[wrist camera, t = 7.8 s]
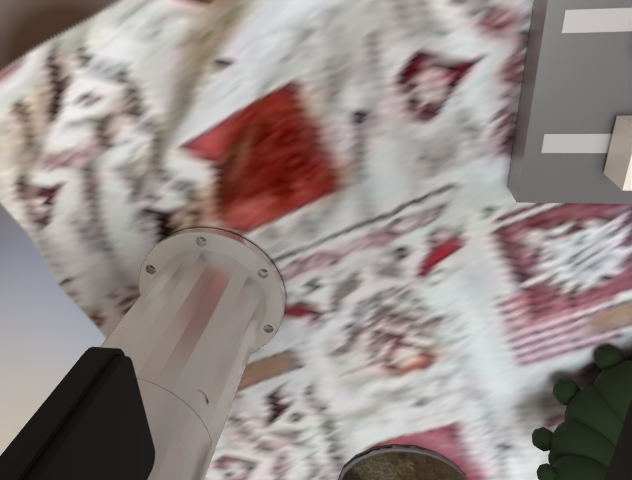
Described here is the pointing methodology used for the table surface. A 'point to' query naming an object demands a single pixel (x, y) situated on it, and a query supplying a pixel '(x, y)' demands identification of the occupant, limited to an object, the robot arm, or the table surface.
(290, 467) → the table surface
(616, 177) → the switch
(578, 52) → the power strip
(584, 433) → the toy figurine
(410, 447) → the lantern
